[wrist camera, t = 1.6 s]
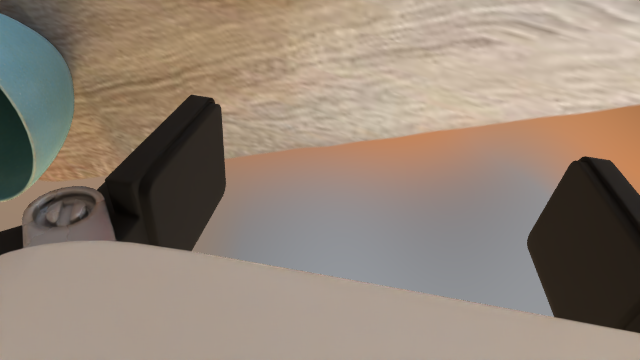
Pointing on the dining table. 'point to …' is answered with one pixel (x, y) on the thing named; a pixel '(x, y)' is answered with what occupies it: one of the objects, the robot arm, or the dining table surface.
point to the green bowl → (30, 106)
